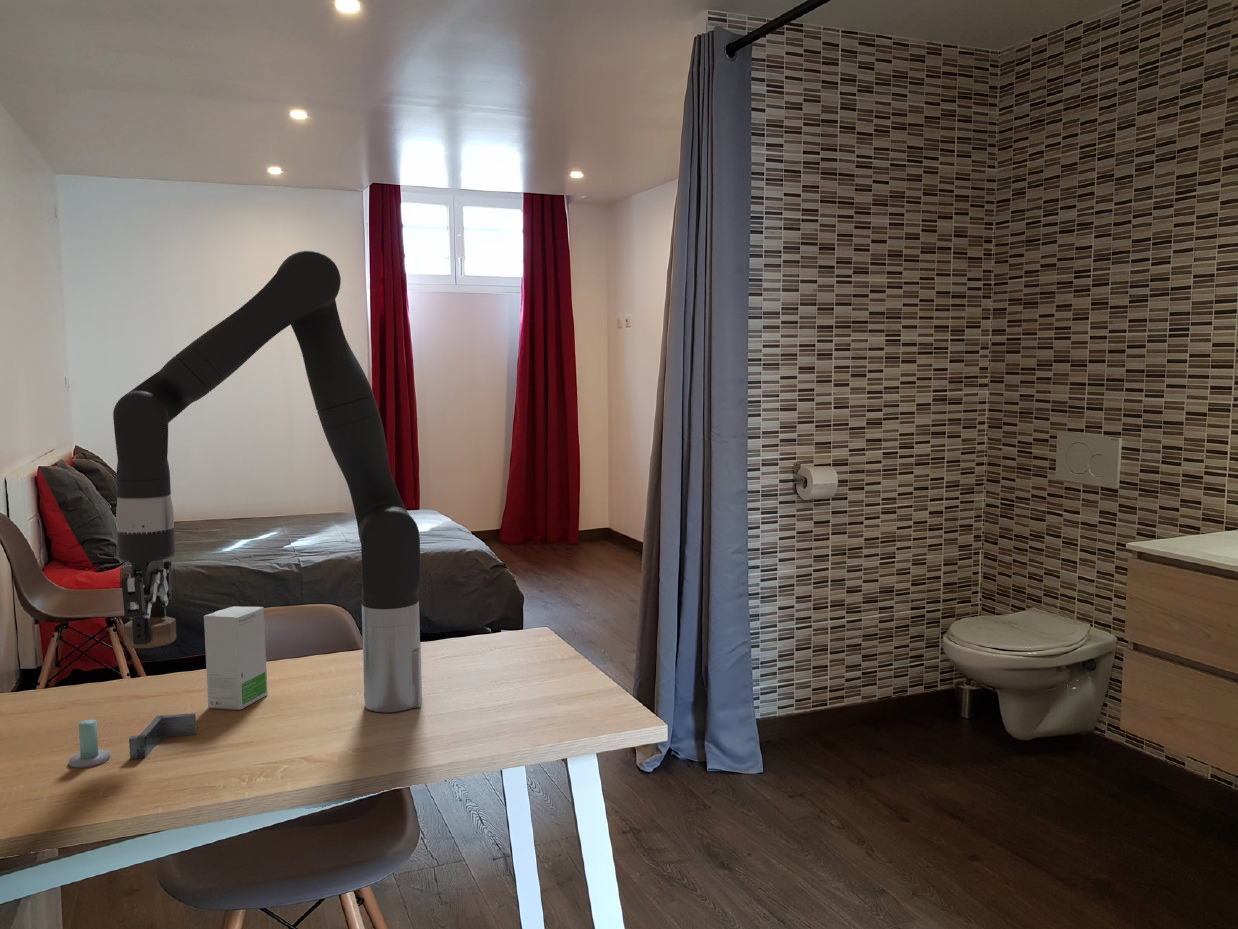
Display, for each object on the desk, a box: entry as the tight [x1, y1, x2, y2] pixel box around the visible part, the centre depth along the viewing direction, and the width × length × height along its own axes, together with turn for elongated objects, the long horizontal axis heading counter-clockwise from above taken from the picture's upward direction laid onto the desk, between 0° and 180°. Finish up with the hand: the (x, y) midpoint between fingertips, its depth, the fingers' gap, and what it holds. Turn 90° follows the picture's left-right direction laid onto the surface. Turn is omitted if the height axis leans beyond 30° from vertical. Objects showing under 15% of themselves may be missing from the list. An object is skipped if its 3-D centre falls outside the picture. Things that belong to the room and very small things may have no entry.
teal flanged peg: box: [68, 719, 111, 769], centre depth 130 cm, size 5×5×6 cm
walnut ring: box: [123, 615, 177, 649], centre depth 136 cm, size 6×6×3 cm
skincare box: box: [203, 605, 268, 711], centre depth 153 cm, size 8×7×16 cm
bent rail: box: [128, 713, 197, 760], centre depth 135 cm, size 6×9×3 cm
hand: (150, 636), depth 136 cm, fingers closed on walnut ring, 6 cm apart
